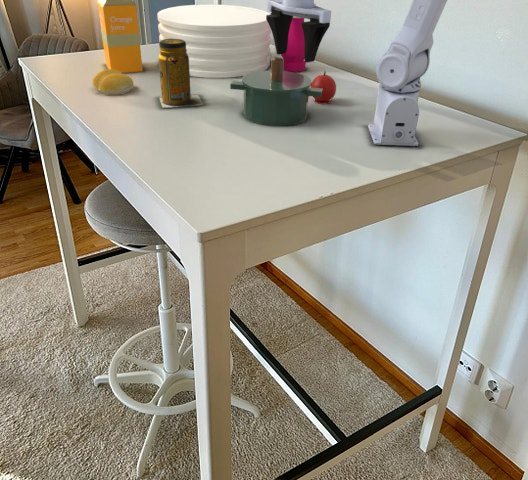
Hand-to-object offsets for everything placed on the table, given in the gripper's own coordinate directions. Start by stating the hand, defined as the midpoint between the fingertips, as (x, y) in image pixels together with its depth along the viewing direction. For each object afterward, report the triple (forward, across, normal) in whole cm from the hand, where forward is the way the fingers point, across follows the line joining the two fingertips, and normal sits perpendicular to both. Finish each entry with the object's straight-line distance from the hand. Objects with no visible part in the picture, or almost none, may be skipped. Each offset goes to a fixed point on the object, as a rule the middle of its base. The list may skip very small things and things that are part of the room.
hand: (295, 57), depth 107 cm
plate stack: (+11, +39, -12) cm, 42 cm away
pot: (+10, 0, +5) cm, 11 cm away
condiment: (+11, +19, +14) cm, 26 cm away
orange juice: (+11, +49, +9) cm, 51 cm away
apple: (+10, 0, -10) cm, 14 cm away
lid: (+4, 0, +5) cm, 6 cm away
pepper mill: (+11, +23, -24) cm, 35 cm away
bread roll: (+11, +35, +21) cm, 42 cm away
